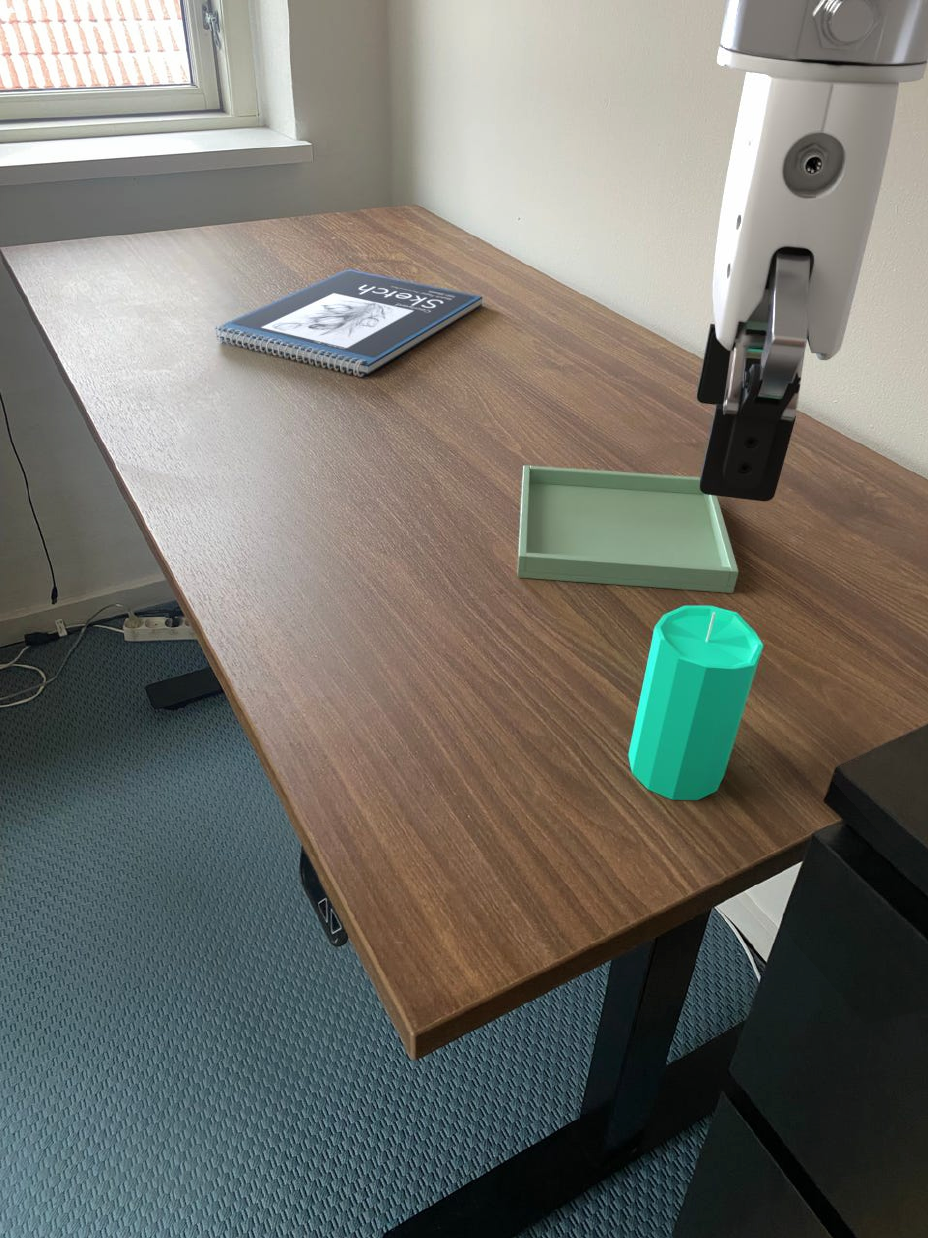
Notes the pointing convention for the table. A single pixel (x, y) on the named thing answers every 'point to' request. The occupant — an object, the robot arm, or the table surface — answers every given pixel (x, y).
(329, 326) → the sketchbook
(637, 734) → the candle
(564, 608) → the table surface
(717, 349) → the robot arm
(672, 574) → the tray
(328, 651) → the table surface
